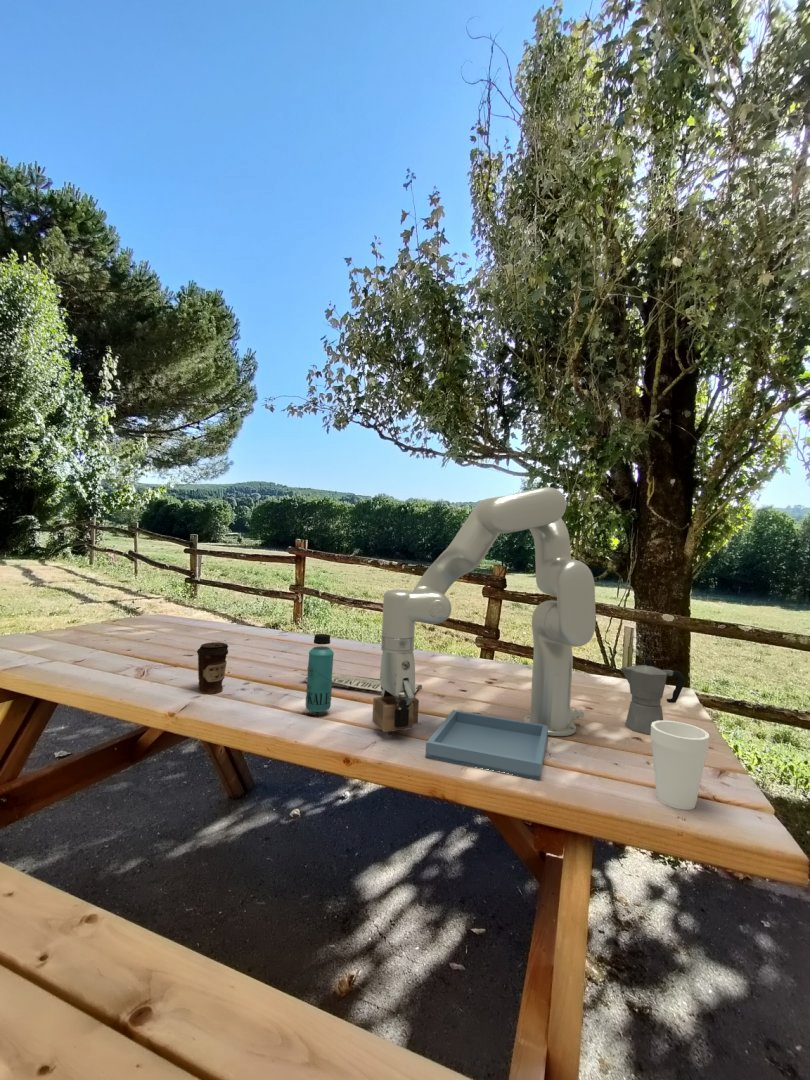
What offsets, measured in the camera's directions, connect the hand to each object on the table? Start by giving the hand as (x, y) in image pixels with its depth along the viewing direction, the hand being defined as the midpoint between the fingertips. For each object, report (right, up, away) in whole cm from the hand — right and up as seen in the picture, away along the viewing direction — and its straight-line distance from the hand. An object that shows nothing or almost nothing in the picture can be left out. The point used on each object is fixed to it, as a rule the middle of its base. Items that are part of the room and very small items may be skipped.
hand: (394, 720), depth 118 cm
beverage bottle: (-19, -2, +11) cm, 22 cm away
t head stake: (-1, -3, 0) cm, 3 cm away
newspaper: (-11, -3, +36) cm, 38 cm away
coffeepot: (+65, -7, +13) cm, 67 cm away
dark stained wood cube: (+1, -1, 0) cm, 1 cm away
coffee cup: (-51, -1, +24) cm, 57 cm away
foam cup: (+52, -6, -25) cm, 58 cm away
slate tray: (+21, -4, -5) cm, 22 cm away
